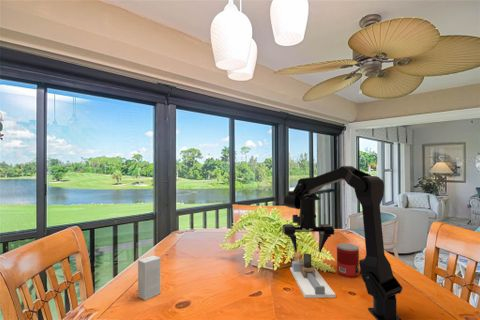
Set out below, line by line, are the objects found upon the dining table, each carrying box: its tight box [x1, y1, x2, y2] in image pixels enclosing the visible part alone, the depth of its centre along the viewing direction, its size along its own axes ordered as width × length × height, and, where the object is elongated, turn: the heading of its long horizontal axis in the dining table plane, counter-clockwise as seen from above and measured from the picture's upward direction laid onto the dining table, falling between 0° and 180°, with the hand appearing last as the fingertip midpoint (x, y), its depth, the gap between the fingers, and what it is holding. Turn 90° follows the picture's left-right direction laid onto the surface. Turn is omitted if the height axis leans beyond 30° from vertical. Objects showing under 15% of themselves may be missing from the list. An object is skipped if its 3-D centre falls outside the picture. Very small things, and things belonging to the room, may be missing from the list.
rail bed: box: [289, 260, 337, 299], centre depth 96 cm, size 23×10×4 cm, turn 1°
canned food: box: [336, 243, 360, 279], centre depth 104 cm, size 8×8×11 cm
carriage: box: [300, 253, 316, 277], centre depth 100 cm, size 5×4×8 cm
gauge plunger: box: [295, 252, 303, 260], centre depth 105 cm, size 2×2×2 cm
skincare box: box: [137, 255, 162, 301], centre depth 87 cm, size 6×4×12 cm
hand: (307, 251), depth 100 cm, fingers open, 9 cm apart
